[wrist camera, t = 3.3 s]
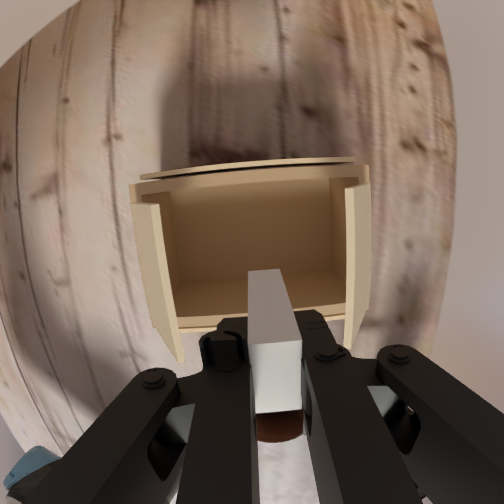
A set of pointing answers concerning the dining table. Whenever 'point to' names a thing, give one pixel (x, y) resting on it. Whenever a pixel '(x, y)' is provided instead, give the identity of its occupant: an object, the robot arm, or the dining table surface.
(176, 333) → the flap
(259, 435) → the cup
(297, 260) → the carton
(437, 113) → the dining table surface
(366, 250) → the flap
